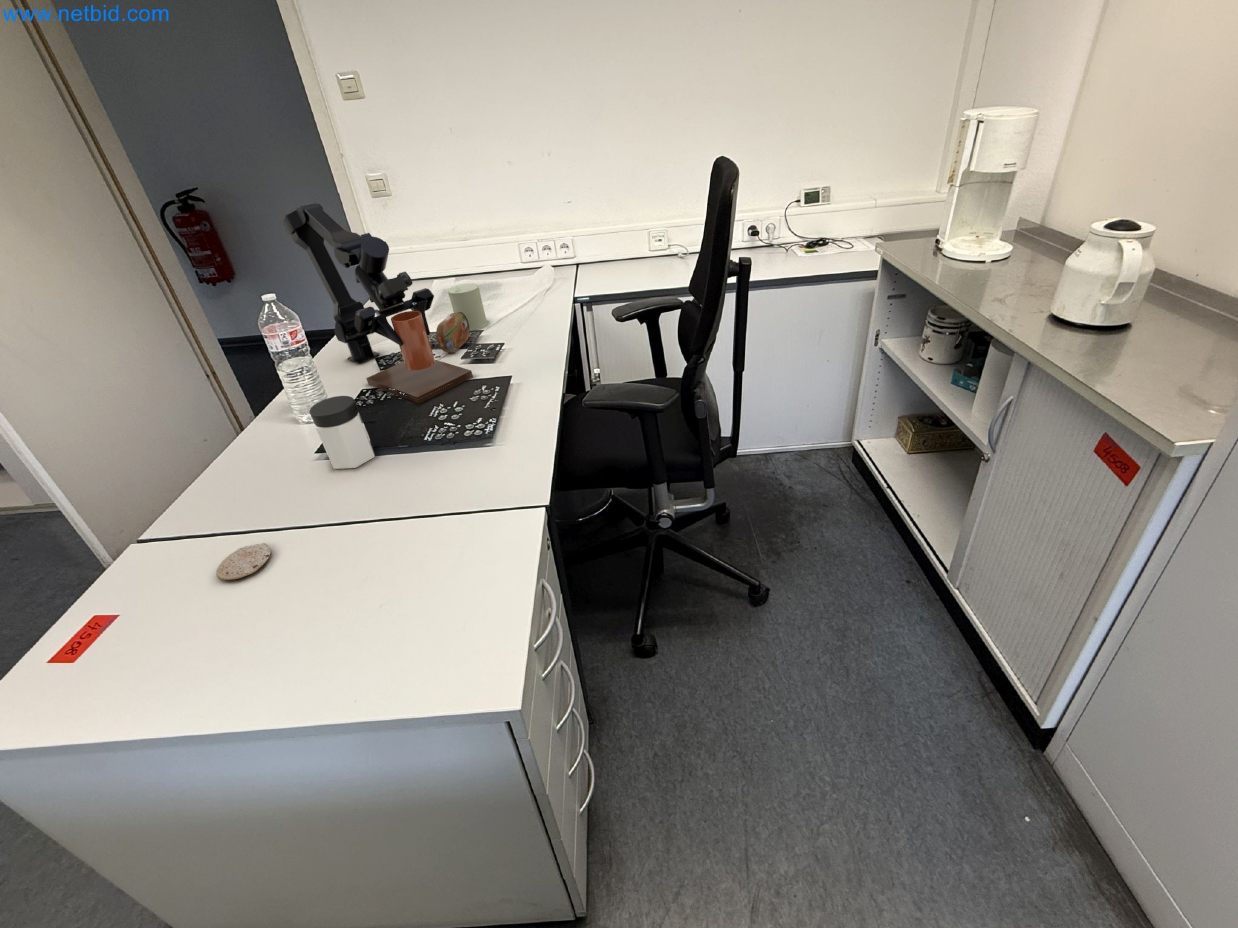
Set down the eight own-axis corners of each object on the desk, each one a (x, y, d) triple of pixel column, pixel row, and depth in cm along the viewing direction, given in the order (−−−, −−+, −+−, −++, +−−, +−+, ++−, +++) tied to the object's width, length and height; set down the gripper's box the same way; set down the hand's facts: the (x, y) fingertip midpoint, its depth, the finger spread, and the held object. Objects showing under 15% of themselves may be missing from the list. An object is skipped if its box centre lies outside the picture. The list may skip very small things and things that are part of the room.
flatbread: (248, 583, 88) (245, 578, 87) (206, 580, 89) (203, 575, 89) (283, 547, 94) (280, 542, 94) (243, 545, 96) (240, 540, 95)
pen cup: (401, 370, 137) (385, 321, 131) (414, 358, 143) (400, 311, 136) (427, 370, 136) (412, 321, 129) (439, 358, 141) (426, 310, 135)
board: (368, 384, 147) (366, 378, 146) (420, 361, 157) (419, 354, 156) (419, 404, 134) (417, 397, 133) (473, 377, 144) (471, 370, 143)
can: (451, 330, 174) (440, 291, 168) (468, 319, 181) (458, 281, 175) (476, 332, 171) (466, 291, 164) (493, 321, 178) (484, 281, 171)
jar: (377, 461, 114) (356, 408, 108) (334, 475, 112) (309, 421, 105) (372, 442, 121) (352, 390, 115) (331, 454, 119) (308, 402, 112)
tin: (450, 357, 157) (442, 327, 152) (440, 357, 157) (431, 327, 153) (473, 335, 169) (465, 307, 164) (463, 336, 169) (455, 307, 165)
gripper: (341, 275, 123) (383, 334, 123) (418, 252, 134) (457, 307, 133) (338, 305, 132) (377, 360, 132) (410, 282, 143) (447, 333, 143)
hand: (415, 339), depth 135 cm, fingers closed on pen cup, 7 cm apart
